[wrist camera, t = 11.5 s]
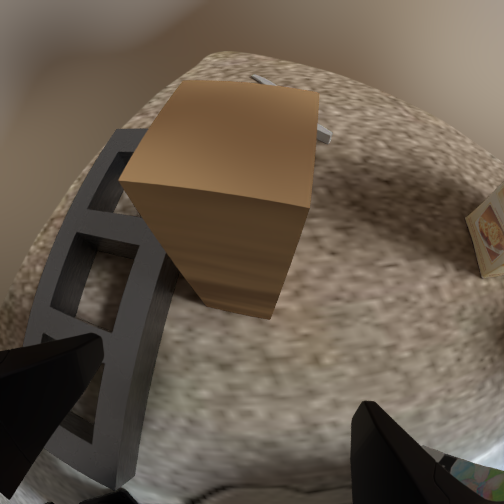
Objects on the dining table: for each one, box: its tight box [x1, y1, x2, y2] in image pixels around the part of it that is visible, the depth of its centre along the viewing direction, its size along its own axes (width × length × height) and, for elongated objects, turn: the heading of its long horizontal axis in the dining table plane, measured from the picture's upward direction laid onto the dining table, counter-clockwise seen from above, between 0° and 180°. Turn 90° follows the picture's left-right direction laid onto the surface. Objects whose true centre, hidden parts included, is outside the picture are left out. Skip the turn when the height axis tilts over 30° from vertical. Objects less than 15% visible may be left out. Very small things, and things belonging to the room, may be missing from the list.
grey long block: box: [23, 129, 180, 491], centre depth 17 cm, size 28×10×4 cm, turn 169°
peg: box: [118, 80, 319, 320], centre depth 13 cm, size 4×4×14 cm
